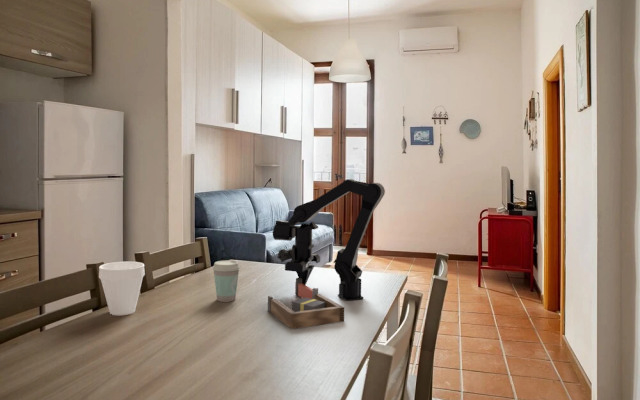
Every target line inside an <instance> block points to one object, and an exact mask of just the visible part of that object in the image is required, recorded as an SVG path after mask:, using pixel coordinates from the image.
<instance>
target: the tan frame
mask: <svg viewBox="0 0 640 400" xmlns="http://www.w3.org/2000/svg"><path fill="white" fill-rule="evenodd" d="M315 300H318V301H322V302H326V308H321V309H314V310H306V311H298V312H294V311H292V308H290V307H288V306H287V305H285V304H284V303H282V302H281V301H279V300H278V299H277V298H273V296H272V295H267V311H268V312H269V313H270V314H271V315H272V316H274V317H275V318H277V319H278V320H279V321H280V322H282V323H283V324H284V325H286V326H287V327H289V329H291V330H293V329H301V328H308V327H315V326H321V325H322V326H323V325H327V324H328V325H329V324H334V323H336V324H337V323H343V322H345V306H342V305H341V304H339V303H337V302H335V301H334V300H332V299H330V298H328V297H326V296H325V295H323V294H321V293H318V294H315Z"/></svg>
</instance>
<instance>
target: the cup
mask: <svg viewBox="0 0 640 400" xmlns="http://www.w3.org/2000/svg"><path fill="white" fill-rule="evenodd" d="M98 271H99V272H98V278H99V279H100V282H101V285H102V290H103V292H104V296H105V299H106V304H107V308H108V311H109V314H110V315H111V314H112V315H111V316H127V315H132V314H134V313H135V312H136V309H137V308H136V307H137V304H138V300H139V296H140V293H141V287H142V282H143V278H144V277H145V275H146V273H145V263H144V262H139V261H128V260H127V261H116V262H115V261H114V262H113V261H112V262H108V263H104V264H101V265H99V267H98Z"/></svg>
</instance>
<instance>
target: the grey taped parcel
mask: <svg viewBox="0 0 640 400" xmlns="http://www.w3.org/2000/svg"><path fill="white" fill-rule="evenodd" d="M321 308H326V302H322V301H318V300H315V299H309V298H301V297H300V298H297V299H295V300H292V301H291V310H292V311H294V312H298V311H306V310H314V309H321Z"/></svg>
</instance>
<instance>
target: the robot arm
mask: <svg viewBox="0 0 640 400" xmlns="http://www.w3.org/2000/svg"><path fill="white" fill-rule="evenodd" d="M348 193H352V194H356V195H359V196H361V205H360V210H359V212H358V215H357V216H356V217H357V218H356V220H355V223H354V225H353V227H352V230H351V234H350V235H349V238H348V241H347V244H346V246H345V248H341V249H340V250H337V253H336V258H335V259H334V261H333V263H334V267H333V268H334V270H335V272H336V274H337V275H338V276H339V280H340V283H339V284H338V294H337V296H338V297H339V298H341V299H343V300H345V301H354V300H356V301H357V300H361V299H362V300H363V299H364V296H362V279H361V277H362V274H363V270H362V269H361V268H360V267H359V266H358V265H357V262H358V258H359V257H358V255H359V248H360V245H361V244H362V241H363V238H364V236H365V233H366V230H367V229H368V225H369V223H370V221H371V218H372V215H373V213H374V211H375V210H376V208H377V207H378V205H379V203H381V201H382V199H383V198H384V196H385V193H386V190H385V188H384V186H383V184H382V183H380V182H372V183H368V182H367V183H366V182H363V181H360V180H359V181H358V180H355V179H352V178H348V179H345V180H343V181H342V182H341V183H339V184H338V185H336V186H335V187H333V188H331V189H329V190H328V191H327V192H325V193H324V194H322V195H321V196H318V197H317V198H315V199H313V200H311V201H308V202H305V203H303V204H300V205H297V206H296V207H295V208H294V209H293V214H292V216H291V217H290V218H289V219H288V220H279V219H277V220H275V224H274V226H273V229H272V238H273V240H276V241H288V242H290V241H292V240H293V239H295V240H294V244H293V245H292V247H291V249H287V250H286V249H285V248H282V249H280V250H278V253H277V259H279V261H280V263H283V262H285V261H287V260H288V261H287V262H286V263H284V271H287V272H295V273H296V274H297V278H302V284H304V285H306V284H307V282H308V281H309V278H310V276H311V274H312V273H313V270H314V268H315V265H313V264H312V263H311V262H315V264H318V263H320V262H321V256H320V255H319V254H318V253H313V248H314V247H315V246H314V245H315V244H313V230H318V229H319V226H318V225H317V224H316V223H315V221H311V220H313V219H314V218H315V217H316V216H317V215H319V213H320V212H321V211H322V210H324V208H326V207H327V206H329V205H330V204H333V203H334V202H336V201H338V200H339V199H341V198H342V197H344V196H345V195H347V194H348ZM308 221H309V222H310V223H307V222H308ZM305 222H306V223H305ZM298 224H300V225H298ZM306 286H307V285H306Z"/></svg>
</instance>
